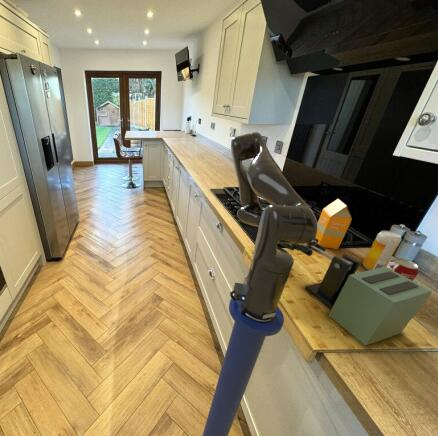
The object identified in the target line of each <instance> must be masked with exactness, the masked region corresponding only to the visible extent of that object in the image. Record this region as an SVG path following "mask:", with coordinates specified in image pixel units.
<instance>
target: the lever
mask: <svg viewBox="0 0 438 436" xmlns="http://www.w3.org/2000/svg"><path fill="white" fill-rule="evenodd" d="M306 247H308V248H309V249H311V250H312V251H313V252H315V253H317V254H319V255H321V256H323V257H325V258H326V259H329V260H330V261H332V259H333V257H334V256H335V255H332V254H330V253H328V252H326V251H325V252H324V251H322V250H320V249H318V248H317V247H318V245H317V244H314V245H308V246H306ZM340 259H342V260H344V261H345V262H347V263H349V264H350V267H349V269H348V270H351V268H352V265H353V262H351V261H349V260H347V259H345V258H342V257H341V258H340Z"/></svg>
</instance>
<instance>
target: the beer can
mask: <svg viewBox="0 0 438 436" xmlns="http://www.w3.org/2000/svg"><path fill="white" fill-rule="evenodd" d="M401 242H402V235H400V234H398V233H396V232H394V231H389V230H381V231H380V232H379V233H377V235H376V237H375V239H374V241H373V242H372V245H371V246H370V248H369V250H368V252H367V253H366V255H365V257H364V258H363V261H362V265H363V267H364V268H365V269H366V270H367V271H369V270H373V269H377V268H381V267H386V266H387V264H388V263H389V262H390V261H391V258H392V257H393V255H394V253H395V252H396V250H397V249H398V247H399V245H400V243H401Z"/></svg>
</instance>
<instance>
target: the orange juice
mask: <svg viewBox="0 0 438 436" xmlns="http://www.w3.org/2000/svg"><path fill="white" fill-rule="evenodd" d="M352 220H353V219H352V215H351V213H350V210H349V207H348V205H347V204H345V203H344V202H343V201H342V200H341V199H339V198H337V199H335V200H334V201H332V202H331V203H329V204H328V205H327V206H325V207H323V208H322V211H321V213H320V215H319V218H318V220H317V226H318V230H317V235H316V237H315V238H317V239H318V240H319V241H318V244H319V245H321V246H323V247H325V248H326V249H333V250H339V248H340V246H341V244H342V242H343V239H344V238H345V236H346V233H347V231H348V229H349V227H350V225H351V223H352Z"/></svg>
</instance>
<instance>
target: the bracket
mask: <svg viewBox="0 0 438 436" xmlns="http://www.w3.org/2000/svg"><path fill="white" fill-rule="evenodd" d="M333 256H334V257H333V259H332V260H330V262H329V265H328V267H327V270H326V272H325V274H324V276H323V278H322V280H321V282H317V283H313V284H309V285H306V286H305V290H306V291H307V292H308V293H310V294H311V296H313V297H315V298H316V299H317V300H319V302H321V303H322V304H324V305H325V306H326V307H327V308H329V309H330V310H331V309H332V308H333V306H334V304H335V302H336V300H337V298H338V296H339V294H340V292H341V290H342V288H343V287H344V285H345V283H346V281H347V279H348V277H349V275H351V274H356V273H357V270H358V269H359V267H360V265H361V263H362V262H360V261H359V260H357V259H355V258H353V257H352V256H349V255H348V254H346V253H344V254H342V256H341V258H345V259H347V260H349V261H351V262H353V265H352V268H351V270H348V269H349V267H350V264H349V263H347V262H345V261H344V260H342V259H341V258H340V257H339V256H337V255H333Z"/></svg>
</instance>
